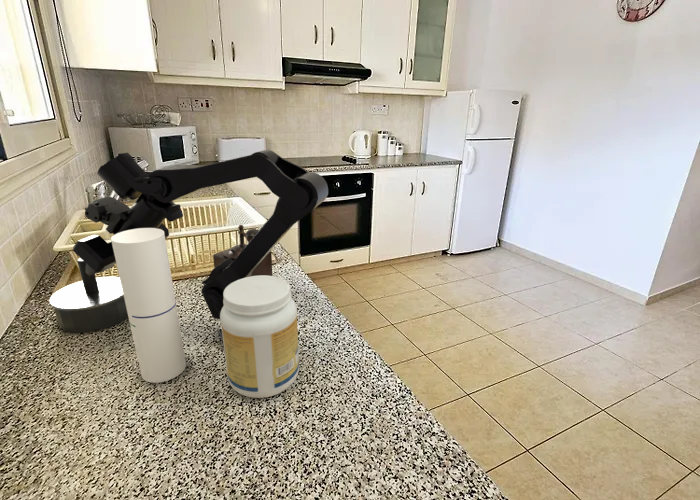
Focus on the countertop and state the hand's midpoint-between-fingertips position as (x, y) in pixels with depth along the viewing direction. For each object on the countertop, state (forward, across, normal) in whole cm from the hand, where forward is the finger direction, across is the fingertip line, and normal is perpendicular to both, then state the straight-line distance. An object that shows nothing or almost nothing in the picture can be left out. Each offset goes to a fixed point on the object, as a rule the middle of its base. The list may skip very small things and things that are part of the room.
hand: (107, 264), depth 76 cm
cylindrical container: (-5, +12, +23) cm, 27 cm away
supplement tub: (-18, +10, +36) cm, 41 cm away
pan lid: (+9, 0, +1) cm, 9 cm away
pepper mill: (-6, -19, +24) cm, 32 cm away
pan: (+13, 0, +5) cm, 14 cm away
